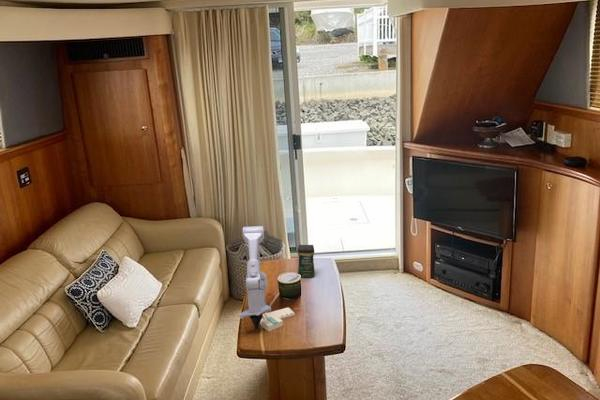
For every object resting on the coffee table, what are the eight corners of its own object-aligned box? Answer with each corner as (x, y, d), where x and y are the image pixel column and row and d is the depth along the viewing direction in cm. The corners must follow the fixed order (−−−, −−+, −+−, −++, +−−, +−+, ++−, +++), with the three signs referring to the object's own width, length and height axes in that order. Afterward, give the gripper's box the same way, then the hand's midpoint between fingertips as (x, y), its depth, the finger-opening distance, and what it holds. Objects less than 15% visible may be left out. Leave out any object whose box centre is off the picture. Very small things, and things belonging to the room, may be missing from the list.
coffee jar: (297, 278, 278) (296, 247, 273) (298, 272, 285) (297, 242, 280) (314, 278, 277) (313, 247, 272) (315, 272, 284) (314, 242, 280)
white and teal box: (261, 326, 228) (261, 320, 227) (276, 321, 233) (275, 314, 232) (268, 332, 223) (268, 325, 222) (283, 326, 228) (282, 319, 227)
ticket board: (254, 318, 236) (254, 315, 235) (288, 309, 243) (288, 306, 243) (260, 324, 229) (260, 322, 229) (294, 315, 237) (294, 312, 237)
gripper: (242, 308, 214) (244, 336, 218) (273, 301, 220) (274, 328, 224) (237, 302, 220) (239, 329, 224) (267, 294, 226) (268, 321, 230)
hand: (256, 328), depth 224 cm, fingers closed
